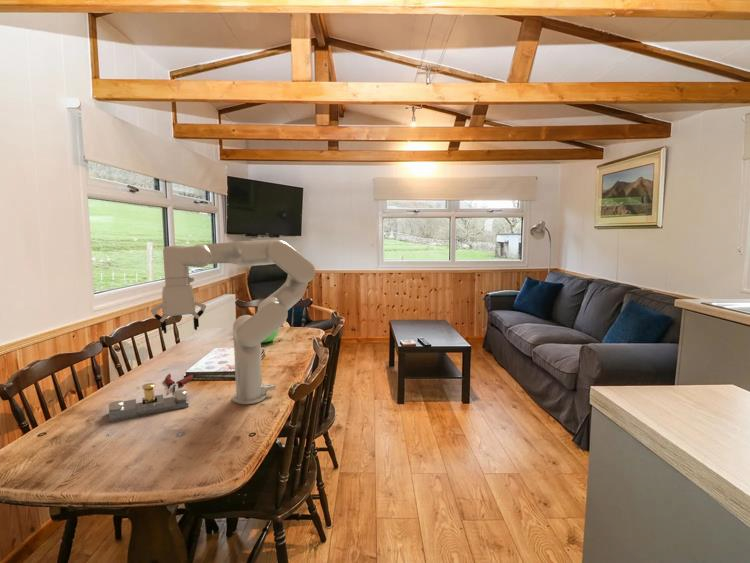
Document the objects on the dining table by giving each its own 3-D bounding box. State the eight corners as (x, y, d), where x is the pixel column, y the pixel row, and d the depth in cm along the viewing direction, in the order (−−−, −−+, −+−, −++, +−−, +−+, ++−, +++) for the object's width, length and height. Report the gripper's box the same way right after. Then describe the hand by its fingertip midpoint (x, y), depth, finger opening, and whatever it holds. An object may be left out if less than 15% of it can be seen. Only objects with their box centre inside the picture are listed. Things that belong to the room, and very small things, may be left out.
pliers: (155, 397, 159) (154, 390, 159) (167, 378, 179) (167, 373, 178) (187, 394, 162) (187, 388, 162) (196, 376, 181) (195, 370, 181)
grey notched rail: (186, 398, 157) (186, 386, 156) (189, 406, 150) (188, 394, 149) (110, 412, 145) (109, 400, 145) (108, 422, 138) (107, 409, 137)
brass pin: (156, 406, 150) (155, 382, 149) (157, 410, 147) (155, 386, 145) (144, 408, 148) (142, 384, 147) (144, 413, 145) (142, 388, 144)
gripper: (203, 279, 150) (205, 325, 152) (148, 282, 142) (152, 331, 144) (205, 281, 143) (208, 330, 146) (148, 285, 135) (152, 336, 137)
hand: (180, 330), depth 145 cm, fingers open, 9 cm apart
